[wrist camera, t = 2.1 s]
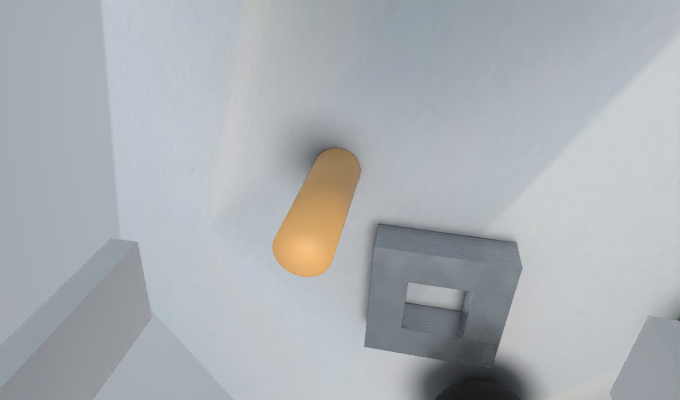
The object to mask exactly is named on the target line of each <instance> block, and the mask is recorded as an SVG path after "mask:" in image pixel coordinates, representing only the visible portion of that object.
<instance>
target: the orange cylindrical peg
mask: <svg viewBox="0 0 680 400" xmlns="http://www.w3.org/2000/svg"><path fill="white" fill-rule="evenodd" d="M360 172H361V169H360V164H359V162H358V160H357V159H356V157H355V156H354V155H353V154H352V153H350V152H349V151H347V150H345V149H341V148H330V149H327V150H325V151H323V152H322V153H320V154H319V156H318V157H317V159H316V161H315V163H314V165H313V166H312V168H311V170H310V172H309V174H308V176H307V178H306V180H305V182H304V183H303V185H302V187H301V189H300V191H299V193H298V195H297V197H296V199H295V201H294V202H293V204H292V206H291V208H290V210H289V212H288V214H287V216H286V218H285V220H284V221H283V223H282V225H281V227H280V229H279V231H278V233H277V235H276V237H275V239H274V241H273V253H274V256H275V258H276V260H277V261H278V263H279V264H280V265H281V266H282V267H283V268H284V269H286V270H287V271H289V272H291V273H293V274H295V275H299V276H304V277H312V276H317V275H320V274H322V273H324V272H325V271H326V270H327V269H328V268H329V267H330V265H331V263H332V260H333V257H334V254H335V251H336V248H337V245H338V242H339V239H340V235H341V232H342V229H343V226H344V223H345V220H346V217H347V214H348V211H349V208H350V205H351V202H352V198H353V195H354V192H355V189H356V186H357V183H358V180H359V177H360Z"/></svg>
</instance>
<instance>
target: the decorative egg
mask: <svg viewBox="0 0 680 400" xmlns="http://www.w3.org/2000/svg"><path fill="white" fill-rule="evenodd" d="M435 400H520V399H519V398H518V397H517V396H516V395H515V394H513V393H512V392H510V391H509V390H507V389H506V388H504V387H502V386H500V385H497V384H495V383H492V382H488V381H483V380H468V381H463V382H459V383H457V384H454V385H452V386H450V387H449V388H447V389H446V390H444V391H443V392H442V393H441V394H440V395H438V396H437V398H436V399H435Z"/></svg>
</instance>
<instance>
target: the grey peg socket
mask: <svg viewBox="0 0 680 400" xmlns="http://www.w3.org/2000/svg"><path fill="white" fill-rule="evenodd" d="M521 271H522V265H521V260H520V256H519V252H518V247H517V243H513V242H505V241H498V240H491V239H483V238H476V237H469V236H462V235H454V234H447V233H440V232H433V231H425V230H418V229H411V228H404V227H396V226H389V225H382V224H379V226H378V231H377V235H376V240H375V245H374V253H373V263H372V274H371V284H370V294H369V304H368V314H367V325H366V335H365V345H364V347H369V348H375V349H381V350H386V351H392V352H398V353H404V354H409V355H415V356H421V357H427V358H433V359H438V360H444V361H450V362H456V363H461V364H467V365H473V366H479V367H484V368H490V369H492V365H493V362H494V359H495V356H496V352H497V349H498V346H499V343H500V339H501V336H502V333H503V329H504V326H505V323H506V320H507V316H508V313H509V310H510V307H511V303H512V300H513V297H514V294H515V290H516V287H517V284H518V280H519V277H520V274H521ZM408 282H411V283H418V284H425V285H431V286H438V287H444V288H451V289H457V290H464V291H466V294H465V298H464V303H463V307H462V311H461V312H460V311H453V310H447V309H441V308H434V307H428V306H422V305H416V304H409V303H405V298H406V292H407V285H408Z"/></svg>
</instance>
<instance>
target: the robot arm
mask: <svg viewBox="0 0 680 400" xmlns="http://www.w3.org/2000/svg"><path fill="white" fill-rule="evenodd" d="M151 318H152V315H151V310H150V304H149V299H148V294H147V289H146V284H145V279H144V273H143V268H142V263H141V258H140V253H139V248H138V242H134V241H127V240H120V239H113V238H111V239H110V240H109V241H108V242H107V243H106V244H105V245H104V246H103V247H102V248H101V249H100V250H99V251H97V252H96V253H95V254H94V255H93V256H92V257H91V258H90V259H89V260H88V261H87V262H86V263H85V264H84V265H83V266H82V267H81V268H80V269H79V270H78V271H77V272H76V273H75V274H74V275H73V276H72V277H71V278H70V279H69V280H68V281H66V282H65V283H64V284H63V286H61V287H60V288H59V289H58V290H57V291H56V292H55V293H54V294H53V295H52V296H51V297H50V298H49V299H48V300H47V301H46V302H45V303H44V304H43V305H42V306H41V307H40V308H39V309H38V310H36V311H35V312H34V313H33V314H32V315H31V316H30V317H29V318H28V319H27V320H26V321H25V322H24V323H23V324H22V325H21V326H20V327H19V328H18V329H17V330H16V331H15V332H14V333H13V334H12V335H11V336H10V337H9V338H8V339H6V341H4V342H3V343H2V344H1V345H0V400H93V399H94V397H95V396H96V395H97V393H98V392H99V390H100V389H101V388H102V386H103V385H104V383H105V382H106V381H107V379H108V378H109V377H110V375H111V374H112V372H113V371H114V370H115V368H116V367H117V365H118V364H119V363H120V361H121V360H122V358H123V357H124V356H125V354H126V353H127V351H128V350H129V348H130V347H131V346H132V344H133V343H134V342H135V340H136V339H137V337H138V336H139V335H140V333H141V332H142V330H143V329H144V327H145V326H146V325H147V323H148V322H149V320H150V319H151ZM610 394H611V396H612V399H613V400H680V321H677V320H670V319H664V318H657V317H650V316H648V318H647V320H646V322H645V324H644V326H643V328H642V330H641V332H640V334H639V336H638V338H637V340H636V342H635V344H634V346H633V348H632V350H631V352H630V354H629V356H628V358H627V360H626V362H625V363H624V365H623V367H622V369H621V371H620V373H619V375H618V377H617V379H616V381H615V383H614V385H613V387H612V389H611V391H610Z"/></svg>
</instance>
